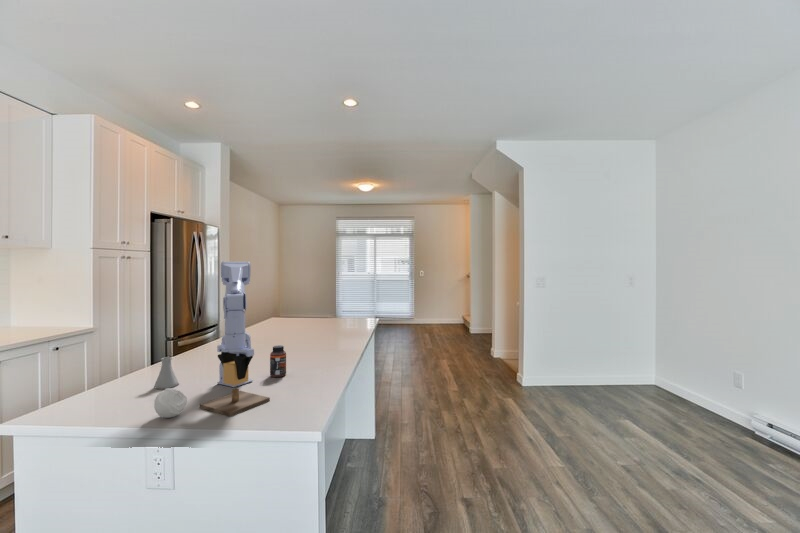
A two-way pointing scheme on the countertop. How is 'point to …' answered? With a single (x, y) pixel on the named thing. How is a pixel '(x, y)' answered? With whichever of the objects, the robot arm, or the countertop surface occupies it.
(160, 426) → the countertop surface
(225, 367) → the golden yellow cube
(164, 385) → the flask
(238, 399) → the flat brown square board
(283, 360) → the supplement bottle
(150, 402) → the countertop surface
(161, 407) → the white ridged ball
